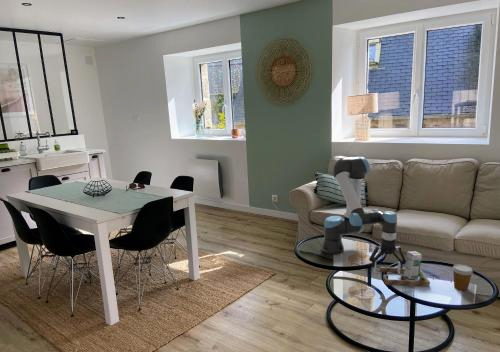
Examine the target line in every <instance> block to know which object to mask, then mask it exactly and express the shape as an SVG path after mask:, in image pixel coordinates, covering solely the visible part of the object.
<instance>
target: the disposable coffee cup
mask: <svg viewBox="0 0 500 352" xmlns="http://www.w3.org/2000/svg"><path fill="white" fill-rule="evenodd" d="M452 270H453V271H452V272H453V288H454V289H455V290H456V291H460V292H467V291H468V289H469V287H470V283H471V277H472V275H473V273H474V271H473V268H472V267H470V266H469V265H465V264H460V263H459V264H458V263H457V264H454V265H453V267H452Z"/></svg>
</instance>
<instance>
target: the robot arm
mask: <svg viewBox="0 0 500 352" xmlns="http://www.w3.org/2000/svg"><path fill="white" fill-rule="evenodd" d="M369 172H370V164H369V161H368V159H367V158H366V157H365V156H351V157H349V156H348V157H341V158H339V159H338V160H337V161H336V162H334V166H333V169H332V175H333V177H334V180H335V181H336V182H337V183H338V185H339V188H340V191H341V193H342V195H343V197H344V200H345V202H346V208H345V210H346V211H345V213H343V217H342V216H341V215H331V216H327V217H326V218H325V219H324V224H323V227H324V229H323V230H324V234H323V236H324V237H323V241H322V244H321V252H323V253H325V254H329V255H340V254H343V253H344V252H345V247H344V243H343V240H342V237H343V236H347V235H357V234H360V233H362V232H363V231H364V229H365V226H367V225H377V224H378V225H380V226H382V229H381V242H380V243H381V244H380V245H377V244H376V245H375V247H374V250H372V253H371V255H370V256H369V258H368V260H369V262H371V266H372V268H373V273H374V274H376V273H377V261H379V259H380V258H381V257H382V256H384V255H393V256H395V258H396V259H397V261H398V262H397V268H398V273H397V274H398V275H401V273H400V269H401V268H403V264H404V263H405V264H406V258H405V256H404V254H403V252H402V247H401V246H400V245H397V246H396V242H397V240H396V239H397V224H398V214H397V212H395V211H392V210H386V211H383V210H381V209H379V208H373V209H371V211H365V210H364V208H363V206H362V204H361V197H362V188H363V187H362V186H363V180H365V178H366V175H368V174H369ZM379 250H380V251H379ZM396 250H397V251H398V254H399V255H400V256H398V254H397V253H396V252H395V251H396ZM378 251H379V252H378ZM400 257H401V258H400Z"/></svg>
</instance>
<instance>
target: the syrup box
mask: <svg viewBox="0 0 500 352" xmlns="http://www.w3.org/2000/svg"><path fill="white" fill-rule="evenodd" d="M422 258H423V254H421V252H418V251H407V252H406V258H405V260H406V263H405V265H404V268H405V270H404V273H403V276H407V278H408V279H409V280H416V279H417V280H419V276H420V275H419V271H420V269H421V264H422Z"/></svg>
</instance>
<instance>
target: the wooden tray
mask: <svg viewBox="0 0 500 352" xmlns="http://www.w3.org/2000/svg"><path fill="white" fill-rule="evenodd" d="M404 270H405V267H402V268H401V269H400V279H391V278H389V275H388V274H384V273H383V272H393V273H392V274H398V267H391V266H390V267H389V266H388V267H387V266H380V267H379V273H383V279H382V280H383V282H384V284H385V286H399V287H417V288H418V287H419V288H420V287H421V288H424V287H425V288H430V284H431V281H430V280H429V279H428V277H427V275H426V274H425V273H424V272H423V270H422V269H421V268H420V271H419V278H418V280H415V279H407V278H408V277H407V276H405V275H401V274H404Z"/></svg>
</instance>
